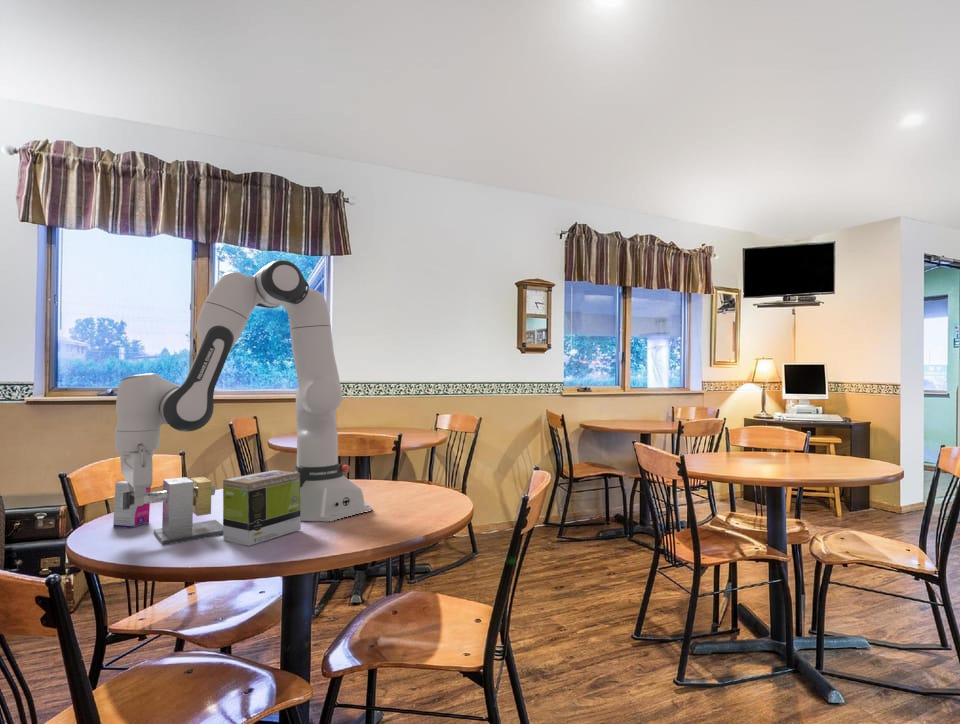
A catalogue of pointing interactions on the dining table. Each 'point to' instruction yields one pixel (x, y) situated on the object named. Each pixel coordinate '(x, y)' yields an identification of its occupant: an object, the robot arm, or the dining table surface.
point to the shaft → (151, 497)
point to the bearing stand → (182, 515)
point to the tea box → (261, 506)
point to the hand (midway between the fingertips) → (135, 501)
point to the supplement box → (134, 513)
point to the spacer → (202, 496)
